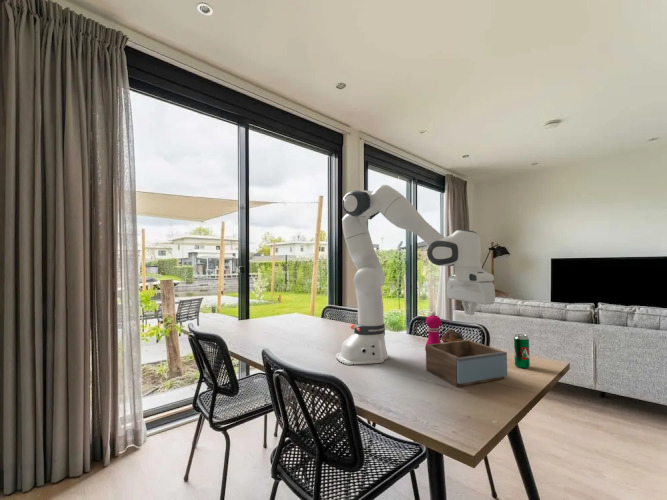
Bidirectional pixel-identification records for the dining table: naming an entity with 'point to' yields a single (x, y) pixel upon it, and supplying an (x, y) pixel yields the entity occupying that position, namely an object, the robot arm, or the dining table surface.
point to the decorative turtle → (451, 336)
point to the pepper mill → (433, 329)
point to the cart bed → (454, 359)
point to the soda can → (521, 351)
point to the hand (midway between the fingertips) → (469, 314)
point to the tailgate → (481, 367)
